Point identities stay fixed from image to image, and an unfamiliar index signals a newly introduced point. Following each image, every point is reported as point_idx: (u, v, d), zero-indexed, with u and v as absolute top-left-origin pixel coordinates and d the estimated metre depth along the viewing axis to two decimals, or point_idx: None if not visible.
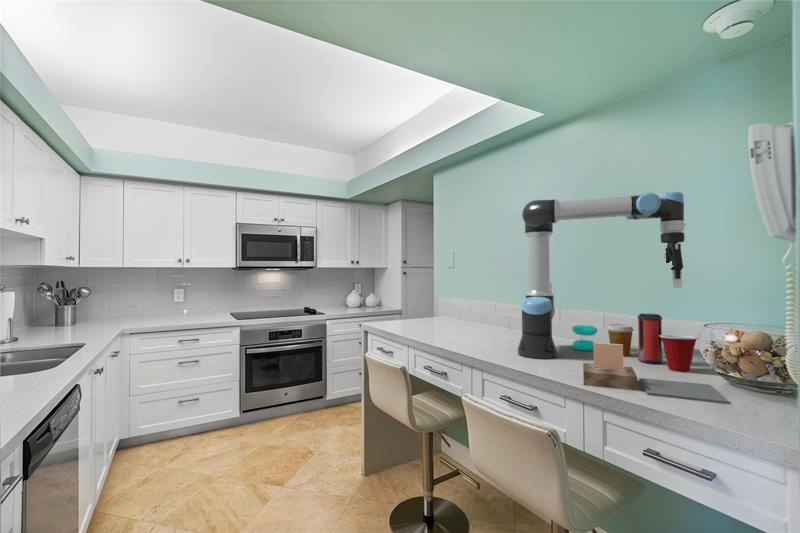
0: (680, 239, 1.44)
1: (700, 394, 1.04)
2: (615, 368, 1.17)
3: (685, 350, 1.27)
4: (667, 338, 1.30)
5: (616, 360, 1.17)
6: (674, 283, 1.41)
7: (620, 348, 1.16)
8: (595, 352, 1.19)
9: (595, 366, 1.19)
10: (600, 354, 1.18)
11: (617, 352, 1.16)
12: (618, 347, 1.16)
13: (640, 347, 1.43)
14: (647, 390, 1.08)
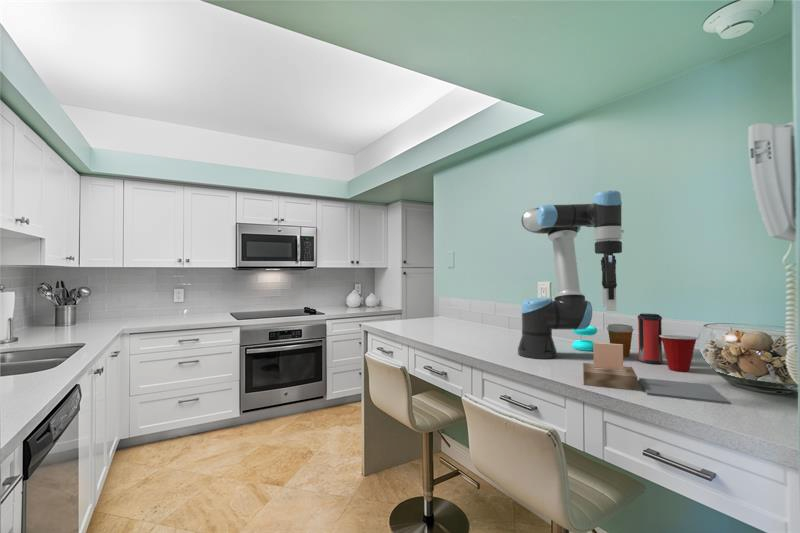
0: (616, 250, 1.15)
1: (700, 394, 1.04)
2: (615, 368, 1.17)
3: (685, 350, 1.27)
4: (667, 338, 1.30)
5: (616, 360, 1.17)
6: (607, 305, 1.12)
7: (620, 347, 1.16)
8: (595, 352, 1.19)
9: (595, 366, 1.19)
10: (600, 354, 1.18)
11: (617, 352, 1.16)
12: (618, 347, 1.16)
13: (640, 347, 1.43)
14: (647, 390, 1.08)
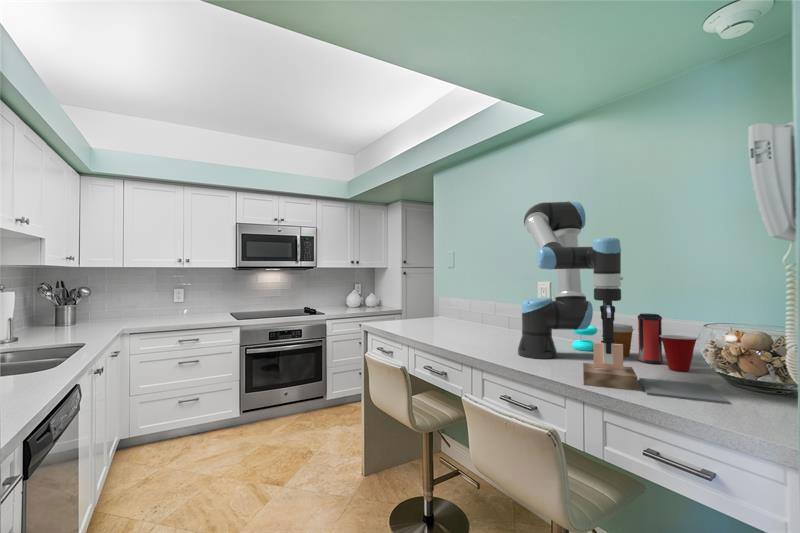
0: (615, 298, 1.15)
1: (700, 394, 1.04)
2: (615, 368, 1.17)
3: (685, 350, 1.27)
4: (667, 338, 1.30)
5: (616, 360, 1.17)
6: (605, 358, 1.17)
7: (620, 347, 1.16)
8: (595, 352, 1.19)
9: (595, 366, 1.19)
10: (600, 354, 1.18)
11: (617, 352, 1.16)
12: (618, 347, 1.16)
13: (640, 347, 1.43)
14: (647, 390, 1.08)
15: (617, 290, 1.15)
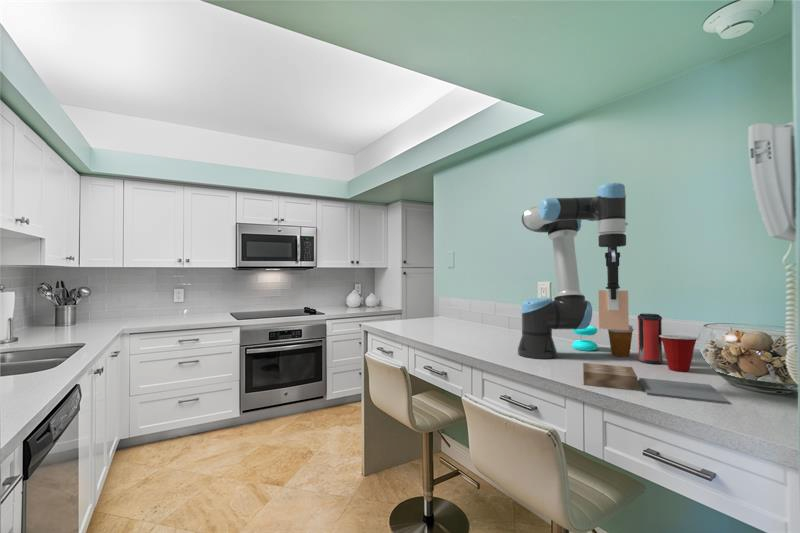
0: (620, 243, 1.14)
1: (700, 394, 1.04)
2: (620, 314, 1.16)
3: (685, 350, 1.27)
4: (667, 338, 1.30)
5: (621, 306, 1.16)
6: (610, 305, 1.16)
7: (625, 293, 1.15)
8: (600, 299, 1.18)
9: (600, 313, 1.18)
10: (605, 301, 1.18)
11: (622, 298, 1.16)
12: (623, 293, 1.15)
13: (640, 347, 1.43)
14: (647, 390, 1.08)
15: (622, 235, 1.14)
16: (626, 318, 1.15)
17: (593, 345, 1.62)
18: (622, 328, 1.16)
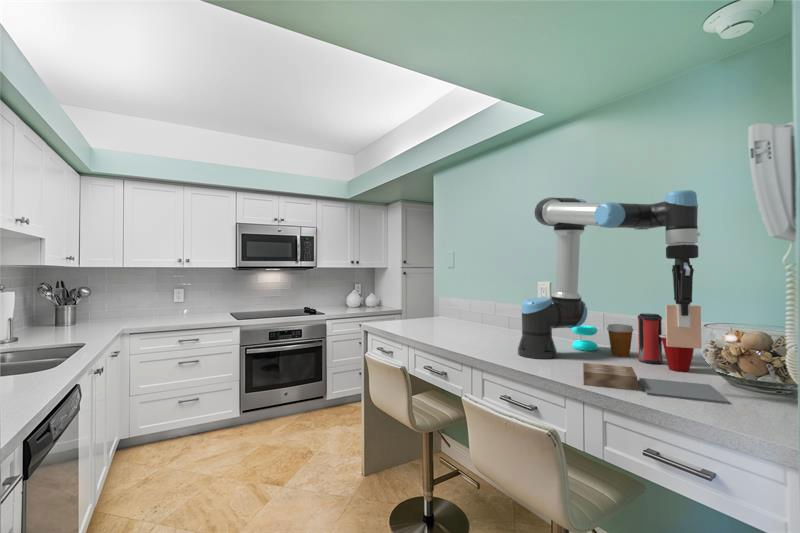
0: (693, 255, 1.06)
1: (700, 394, 1.04)
2: (692, 331, 1.08)
3: (685, 350, 1.27)
4: None
5: (693, 323, 1.07)
6: (680, 321, 1.08)
7: (698, 309, 1.07)
8: (668, 315, 1.10)
9: (668, 330, 1.10)
10: (674, 317, 1.09)
11: (694, 314, 1.07)
12: (695, 309, 1.07)
13: (640, 347, 1.43)
14: (647, 390, 1.08)
15: (695, 246, 1.06)
16: (698, 336, 1.07)
17: (593, 345, 1.62)
18: (694, 346, 1.07)
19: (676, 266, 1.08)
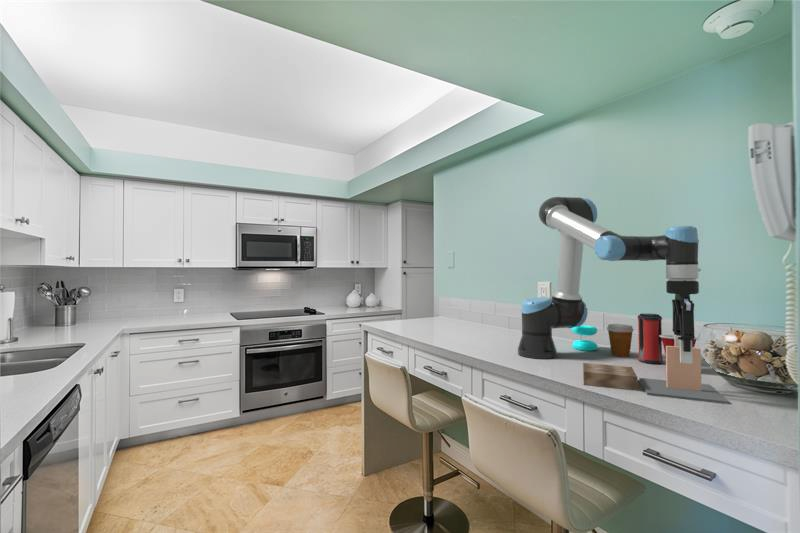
0: (693, 291, 1.06)
1: (700, 394, 1.04)
2: (692, 373, 1.08)
3: None
4: (667, 338, 1.30)
5: (693, 365, 1.08)
6: (682, 357, 1.06)
7: (698, 351, 1.07)
8: (668, 356, 1.10)
9: (669, 371, 1.10)
10: (675, 358, 1.09)
11: (694, 356, 1.08)
12: (695, 351, 1.07)
13: (640, 347, 1.43)
14: (647, 390, 1.08)
15: (695, 282, 1.06)
16: (698, 378, 1.07)
17: (593, 345, 1.62)
18: (694, 389, 1.07)
19: (676, 301, 1.08)
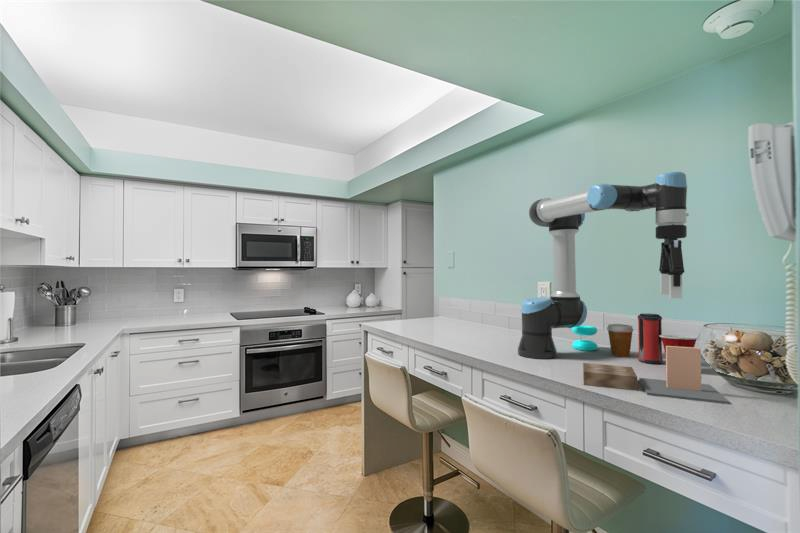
0: (681, 234, 1.09)
1: (700, 394, 1.04)
2: (692, 373, 1.08)
3: None
4: (667, 338, 1.30)
5: (693, 365, 1.08)
6: (672, 292, 1.07)
7: (698, 351, 1.07)
8: (668, 356, 1.10)
9: (669, 371, 1.10)
10: (675, 358, 1.09)
11: (694, 356, 1.08)
12: (695, 351, 1.07)
13: (640, 347, 1.43)
14: (647, 390, 1.08)
15: (683, 226, 1.09)
16: (698, 378, 1.07)
17: (593, 345, 1.62)
18: (694, 389, 1.07)
19: (665, 246, 1.12)
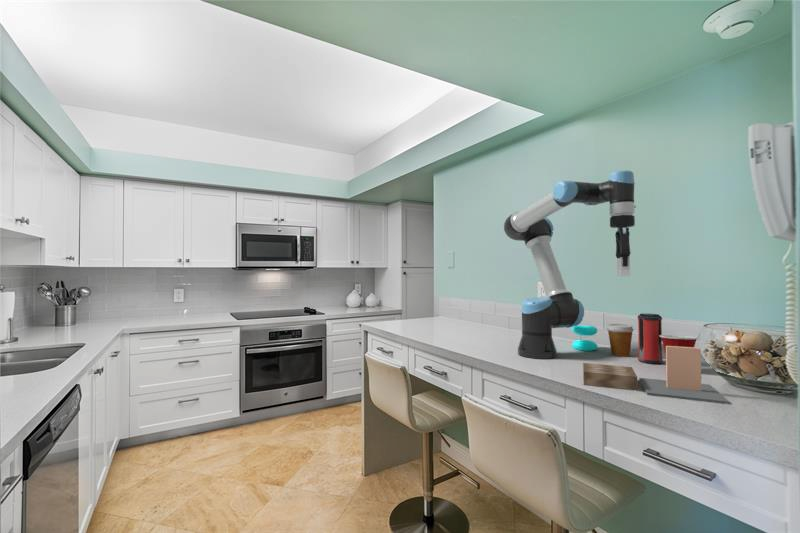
0: (629, 223, 1.29)
1: (700, 394, 1.04)
2: (692, 373, 1.08)
3: None
4: (667, 338, 1.30)
5: (693, 365, 1.08)
6: (622, 271, 1.27)
7: (698, 351, 1.07)
8: (668, 356, 1.10)
9: (669, 371, 1.10)
10: (675, 358, 1.09)
11: (694, 356, 1.08)
12: (695, 351, 1.07)
13: (640, 347, 1.43)
14: (647, 390, 1.08)
15: (631, 216, 1.30)
16: (698, 378, 1.07)
17: (593, 345, 1.62)
18: (694, 389, 1.07)
19: (617, 233, 1.32)
